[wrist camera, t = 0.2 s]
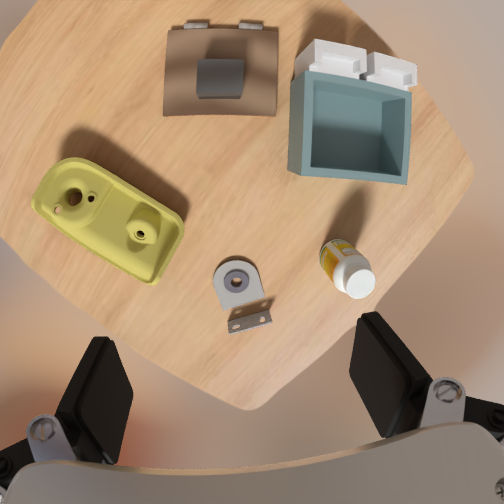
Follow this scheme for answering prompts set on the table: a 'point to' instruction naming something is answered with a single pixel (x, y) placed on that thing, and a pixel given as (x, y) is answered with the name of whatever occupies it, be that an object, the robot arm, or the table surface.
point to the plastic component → (110, 218)
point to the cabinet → (350, 114)
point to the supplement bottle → (347, 268)
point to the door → (221, 71)
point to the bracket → (240, 293)
